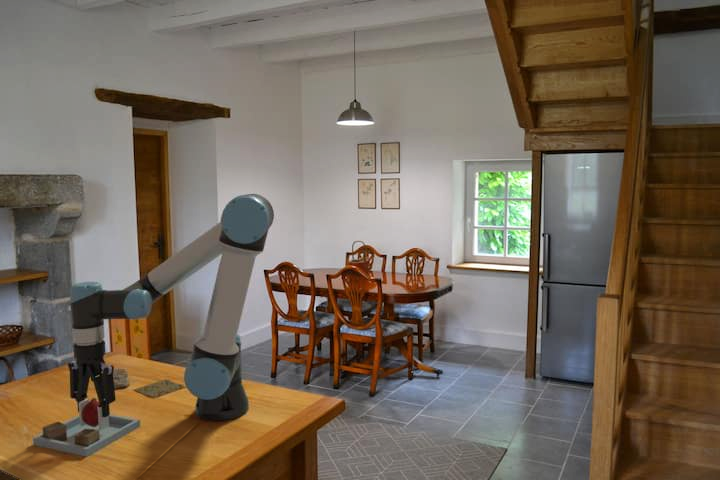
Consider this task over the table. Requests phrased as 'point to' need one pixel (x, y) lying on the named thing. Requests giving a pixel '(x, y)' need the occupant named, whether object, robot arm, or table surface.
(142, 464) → the table surface
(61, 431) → the walnut cube
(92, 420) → the onion
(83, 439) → the walnut cube
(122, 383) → the rock
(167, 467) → the table surface
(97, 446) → the dish
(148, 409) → the table surface
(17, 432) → the table surface
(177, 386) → the speckled stone tile
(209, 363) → the robot arm
